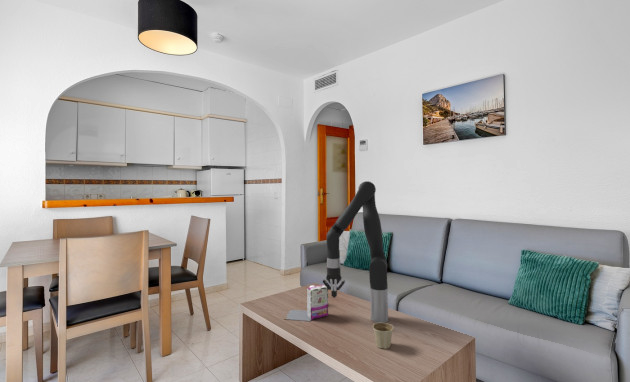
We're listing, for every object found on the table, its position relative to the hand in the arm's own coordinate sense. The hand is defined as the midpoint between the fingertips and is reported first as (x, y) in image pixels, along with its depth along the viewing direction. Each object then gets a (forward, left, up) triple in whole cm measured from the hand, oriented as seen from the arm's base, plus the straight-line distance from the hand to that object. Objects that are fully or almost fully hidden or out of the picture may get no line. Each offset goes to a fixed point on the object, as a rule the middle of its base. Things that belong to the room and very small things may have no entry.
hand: (334, 297), depth 174 cm
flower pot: (-26, +26, -12) cm, 39 cm away
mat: (+20, 0, -12) cm, 23 cm away
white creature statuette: (+16, -18, -12) cm, 27 cm away
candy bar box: (+10, 0, -12) cm, 15 cm away
